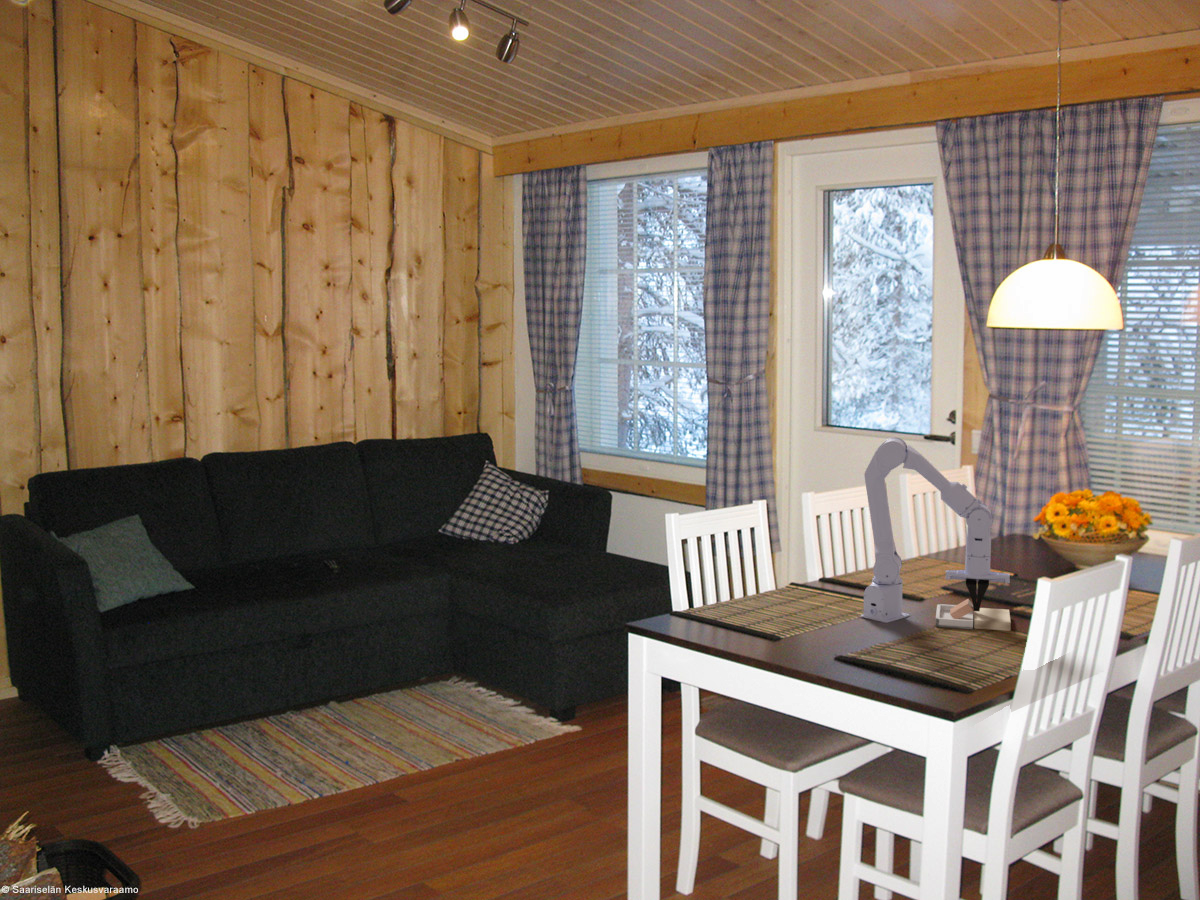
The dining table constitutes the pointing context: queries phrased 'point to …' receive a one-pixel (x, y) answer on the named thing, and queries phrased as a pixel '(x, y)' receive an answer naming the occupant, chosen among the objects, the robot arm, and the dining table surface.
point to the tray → (947, 620)
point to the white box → (992, 619)
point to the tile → (961, 609)
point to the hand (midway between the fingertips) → (976, 610)
